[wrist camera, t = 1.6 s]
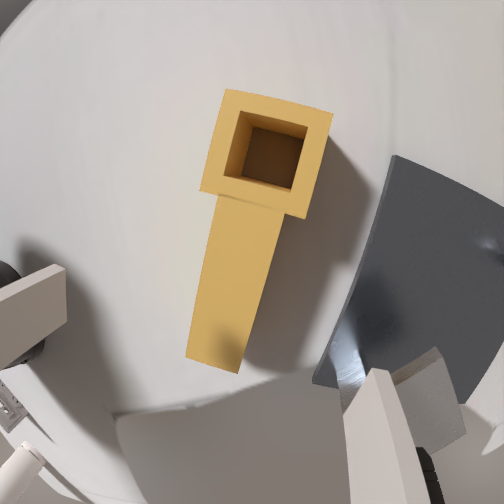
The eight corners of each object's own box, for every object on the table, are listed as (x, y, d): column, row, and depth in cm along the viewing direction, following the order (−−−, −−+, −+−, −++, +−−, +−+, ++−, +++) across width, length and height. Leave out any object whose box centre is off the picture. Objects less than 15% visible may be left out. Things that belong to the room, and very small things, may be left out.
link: (242, 109, 21) (225, 88, 15) (323, 129, 21) (333, 113, 15) (194, 316, 26) (170, 351, 20) (262, 337, 26) (253, 378, 20)
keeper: (394, 291, 23) (442, 356, 13) (428, 364, 24) (466, 433, 15) (316, 338, 25) (323, 421, 15) (362, 402, 26) (377, 479, 17)
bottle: (50, 467, 46) (3, 529, 19) (30, 454, 47) (-17, 511, 20) (39, 450, 44) (-14, 516, 17) (19, 436, 45) (-34, 496, 18)
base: (312, 377, 26) (314, 468, 16) (391, 155, 20) (464, 144, 10) (461, 398, 25) (495, 461, 14) (539, 232, 19) (608, 260, 9)
